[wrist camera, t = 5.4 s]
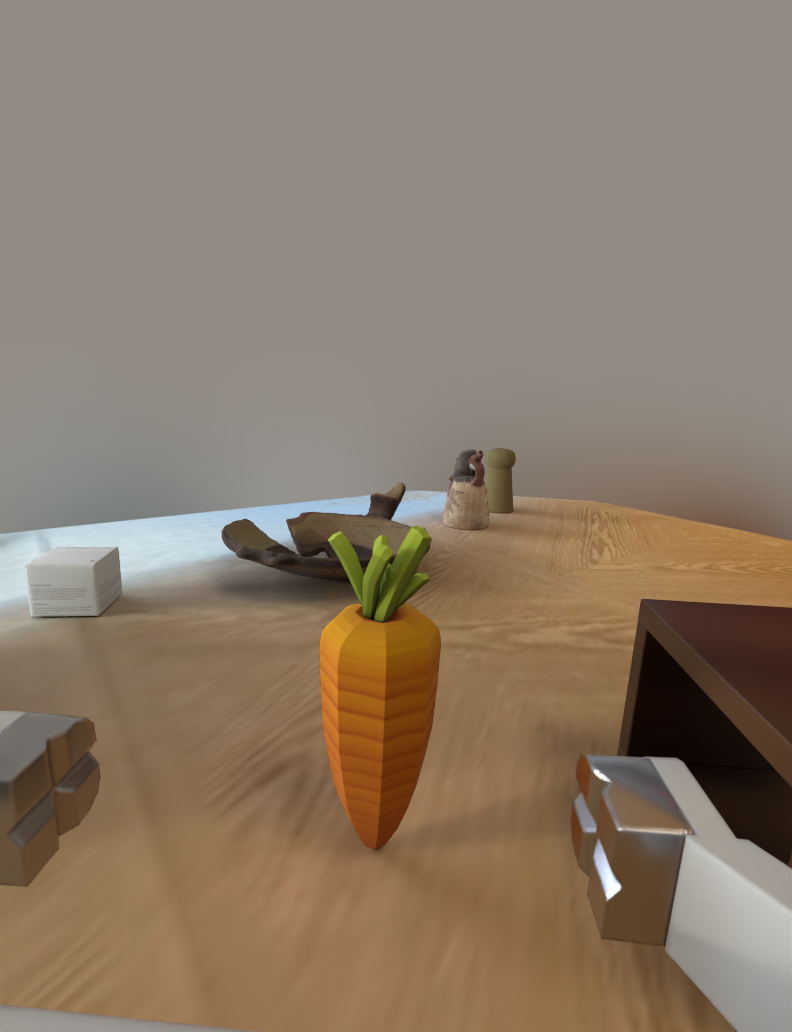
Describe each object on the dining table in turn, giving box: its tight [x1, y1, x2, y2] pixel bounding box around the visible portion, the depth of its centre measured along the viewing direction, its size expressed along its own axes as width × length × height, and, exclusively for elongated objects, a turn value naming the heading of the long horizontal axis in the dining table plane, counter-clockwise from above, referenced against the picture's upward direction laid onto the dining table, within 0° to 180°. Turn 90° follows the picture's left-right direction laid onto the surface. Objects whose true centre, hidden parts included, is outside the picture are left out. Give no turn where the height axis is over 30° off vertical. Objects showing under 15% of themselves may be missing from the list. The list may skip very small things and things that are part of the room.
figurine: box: [443, 449, 489, 530], centre depth 83 cm, size 7×7×12 cm
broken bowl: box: [222, 483, 430, 579], centre depth 61 cm, size 22×30×8 cm
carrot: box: [320, 526, 441, 849], centre depth 22 cm, size 5×5×15 cm
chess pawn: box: [485, 448, 516, 513], centre depth 95 cm, size 6×6×11 cm
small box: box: [25, 547, 122, 617], centre depth 48 cm, size 6×6×5 cm
